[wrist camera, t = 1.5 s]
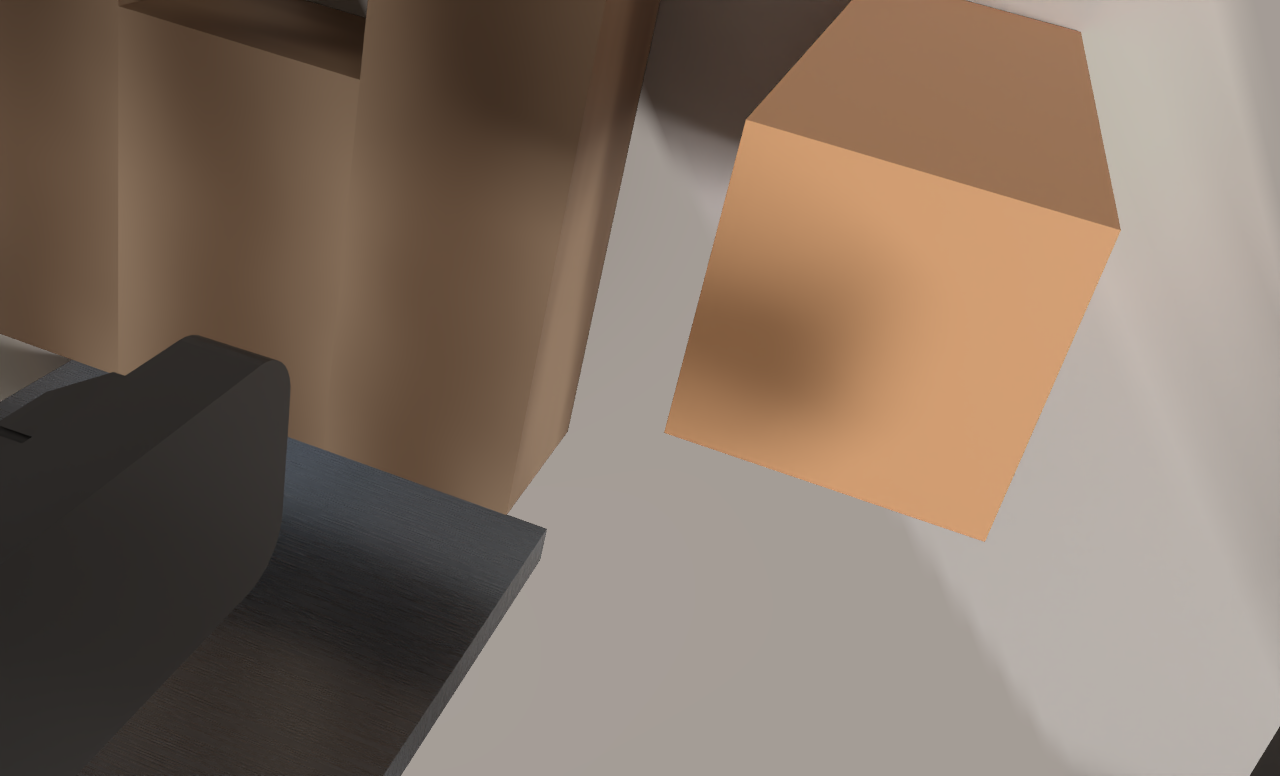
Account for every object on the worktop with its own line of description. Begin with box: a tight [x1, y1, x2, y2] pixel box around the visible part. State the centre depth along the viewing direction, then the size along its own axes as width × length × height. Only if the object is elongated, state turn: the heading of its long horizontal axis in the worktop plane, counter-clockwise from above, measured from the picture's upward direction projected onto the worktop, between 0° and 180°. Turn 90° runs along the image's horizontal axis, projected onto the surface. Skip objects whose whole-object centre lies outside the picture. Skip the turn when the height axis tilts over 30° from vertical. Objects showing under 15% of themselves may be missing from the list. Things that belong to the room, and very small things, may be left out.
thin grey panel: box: [0, 360, 547, 776], centre depth 22 cm, size 14×8×20 cm, turn 77°
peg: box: [664, 0, 1121, 542], centre depth 19 cm, size 4×4×12 cm
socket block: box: [0, 0, 660, 515], centre depth 25 cm, size 14×16×4 cm
